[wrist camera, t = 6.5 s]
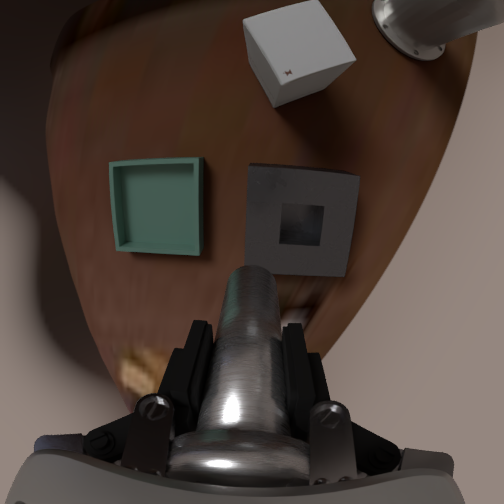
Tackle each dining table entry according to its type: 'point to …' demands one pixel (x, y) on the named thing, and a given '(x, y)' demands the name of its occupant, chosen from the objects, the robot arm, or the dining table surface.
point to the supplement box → (295, 51)
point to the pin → (244, 398)
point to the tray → (158, 205)
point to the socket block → (300, 219)
